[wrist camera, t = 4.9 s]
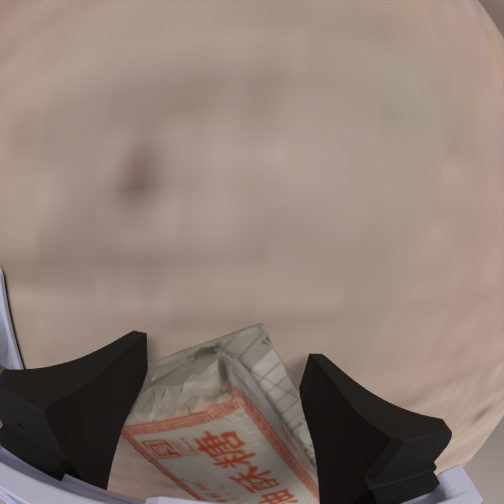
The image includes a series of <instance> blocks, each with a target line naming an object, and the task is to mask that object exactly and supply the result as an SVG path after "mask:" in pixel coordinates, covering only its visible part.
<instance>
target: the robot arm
mask: <svg viewBox="0 0 504 504" xmlns="http://www.w3.org/2000/svg"><path fill="white" fill-rule="evenodd" d="M0 365H1V366H3V367H5V368H7V369H5V370H4V371H3V372H2V373H1V374H0V420H1V422H2V423H3V426H2V427H1V429H0V498H1V499H2V500H3V501H4V502H6V503H7V504H236V503H222V502H212V501H203V500H196V499H189V498H183V497H173V496H164V495H162V496H155V497H150V498H147V499H146V501H145V502H143V501H139V500H135V499H132V498H128V497H125V496H122V495H119V494H116V493H113V492H110V491H107V486H108V480H109V475H110V470H111V466H112V462H113V458H114V454H115V450H116V447H117V443H118V440H119V437H120V434H121V431H122V428H123V426H124V423H125V421H126V419H127V417H128V415H129V413H130V411H131V409H132V407H133V405H134V403H135V401H136V399H137V397H138V394H139V392H140V390H141V388H142V386H143V383H144V380H145V377H146V374H147V371H148V362H147V337H146V333H142V332H138V331H132V332H130V333H128V334H126V335H125V336H123V337H121V338H119V339H118V340H116V341H114V342H112V343H111V344H109V345H107V346H105V347H103V348H101V349H99V350H97V351H95V352H93V353H91V354H89V355H86V356H84V357H81V358H79V359H76V360H73V361H70V362H66V363H62V364H58V365H54V366H50V367H43V368H36V369H24V368H23V364H22V361H21V358H20V354H19V351H18V347H17V344H16V340H15V336H14V332H13V327H12V323H11V318H10V313H9V308H8V302H7V296H6V290H5V283H4V275H3V272H2V270H1V269H0ZM299 390H300V398H301V405H302V409H303V413H304V416H305V420H306V423H307V426H308V430H309V433H310V436H311V440H312V444H313V448H314V453H315V460H316V467H317V476H318V486H319V504H480V503H481V502H482V500H483V499H482V498H481V496H480V495H479V493H478V491H477V490H476V488H475V487H474V485H473V484H472V482H471V480H470V479H469V478H468V476H467V474H466V473H465V471H464V470H463V468H462V467H461V465H457V466H455V467H452V468H450V469H448V470H446V471H443V472H441V473H440V474H438V475H437V476H436V475H435V474H434V472H433V471H435V470H436V468H437V467H436V465H435V463H434V461H435V460H436V459H437V458H438V457H439V455H440V454H441V453H442V452H443V450H444V449H445V448H446V447H447V445H448V444H449V442H450V439H451V437H452V432H451V430H450V429H449V427H448V426H447V425H446V423H445V422H444V421H443V419H439V418H434V417H430V416H425V415H421V414H418V413H414V412H411V411H408V410H405V409H403V408H400V407H398V406H396V405H393V404H391V403H389V402H387V401H385V400H383V399H381V398H380V397H378V396H376V395H374V394H373V393H371V392H370V391H368V390H366V389H365V388H364V387H362V386H361V385H359V384H358V383H357V382H355V381H354V380H353V379H352V378H350V377H349V376H348V375H347V374H345V373H344V372H343V371H342V370H341V369H340V368H338V367H337V366H336V365H335V364H334V363H333V362H331V361H330V360H329V359H328V358H327V357H326V356H324V355H323V354H309V357H308V361H307V364H306V367H305V371H304V374H303V377H302V381H301V384H300V387H299Z"/></svg>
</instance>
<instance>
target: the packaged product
mask: <svg viewBox="0 0 504 504" xmlns="http://www.w3.org/2000/svg"><path fill="white" fill-rule="evenodd" d="M121 434H122V435H123V436H124V437H125V438H126V439H127V440H128V441H129V442H130V444H131V445H133V446H134V448H135V449H136V450H137V451H139V452H140V453H141V454H142V455H143V456H144V457H145V458H147V459H148V460H149V462H151V463H153V464H154V465H155V466H156V467H157V468H158V469H159V470H160V471H161V472H163V473H164V474H165V475H166V476H168V477H169V478H170V479H172V480H173V481H174V482H175V483H176V484H178V485H179V486H180V487H181V488H183V489H184V490H186V491H187V492H188V493H189V494H191V495H192V496H193V497H195V498H197V499H198V500H203V501H212V502H222V503H236V504H319V486H318V476H317V467H316V460H315V453H314V448H313V444H312V440H311V436H310V433H309V430H308V426H307V423H306V420H305V416H304V413H303V409H302V405H301V399H300V397H299V395H298V393H297V390H296V388H295V386H294V384H293V382H292V380H291V378H290V375H289V373H288V372H287V370H286V368H285V367H284V365H283V363H282V361H281V360H280V358H279V356H278V354H277V353H276V351H275V349H274V348H273V346H272V343H271V341H270V339H269V336H268V334H267V332H266V329H265V327H264V324H263V323H258V324H256V325H253V326H250V327H247V328H245V329H242V330H239V331H236V332H233V333H231V334H228V335H225V336H222V337H220V338H217V339H214V340H211V341H208V342H205V343H203V344H200V345H197V346H194V347H191V348H188V349H185V350H182V351H179V352H176V353H174V354H171V355H169V356H166V357H163V358H161V359H158V360H154V361H151V362H148V371H147V374H146V377H145V380H144V383H143V386H142V388H141V390H140V392H139V394H138V397H137V399H136V401H135V403H134V405H133V407H132V409H131V411H130V413H129V415H128V417H127V419H126V421H125V423H124V426H123V428H122V431H121Z"/></svg>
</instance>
